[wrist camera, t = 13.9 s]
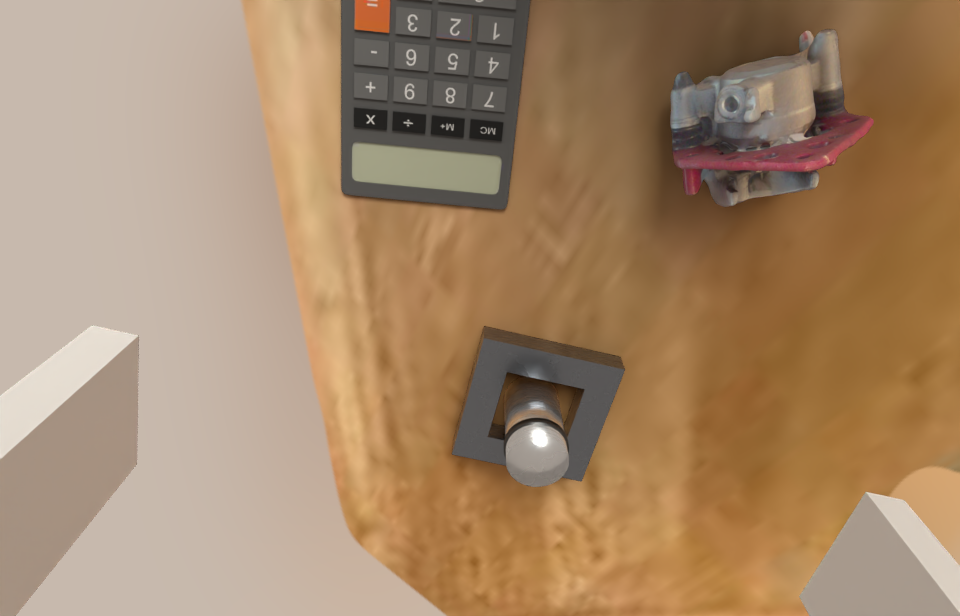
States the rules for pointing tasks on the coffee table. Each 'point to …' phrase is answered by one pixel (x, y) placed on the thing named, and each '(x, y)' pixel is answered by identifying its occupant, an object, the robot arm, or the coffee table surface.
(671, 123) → the brake caliper
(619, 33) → the coffee table surface
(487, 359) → the bore plate
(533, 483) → the piston
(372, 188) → the calculator
